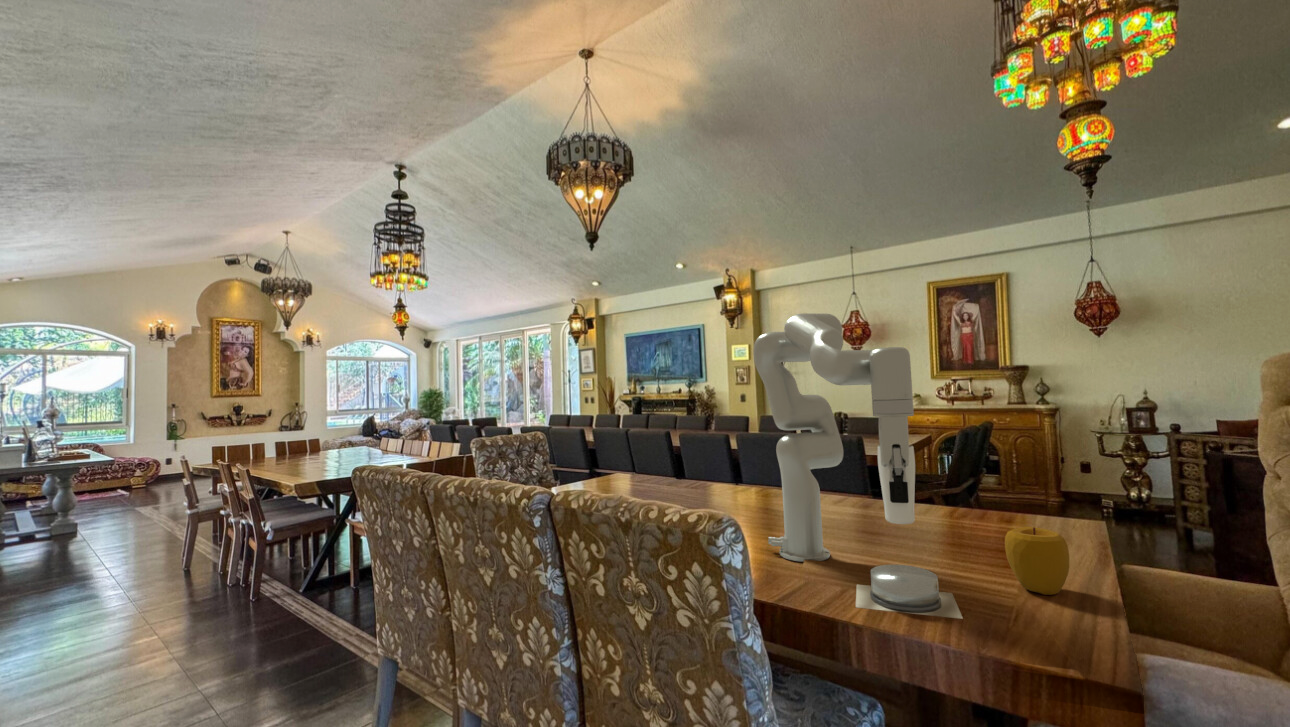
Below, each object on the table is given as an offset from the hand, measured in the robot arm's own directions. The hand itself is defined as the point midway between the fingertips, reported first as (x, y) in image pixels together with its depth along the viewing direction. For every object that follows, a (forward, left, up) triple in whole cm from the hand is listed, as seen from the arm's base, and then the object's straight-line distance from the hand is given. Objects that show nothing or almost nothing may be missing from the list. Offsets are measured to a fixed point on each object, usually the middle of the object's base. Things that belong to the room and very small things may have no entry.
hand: (898, 498), depth 107 cm
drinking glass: (0, 0, -5) cm, 5 cm away
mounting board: (0, 0, -21) cm, 21 cm away
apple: (+26, +16, -21) cm, 37 cm away
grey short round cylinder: (0, 0, -20) cm, 20 cm away
